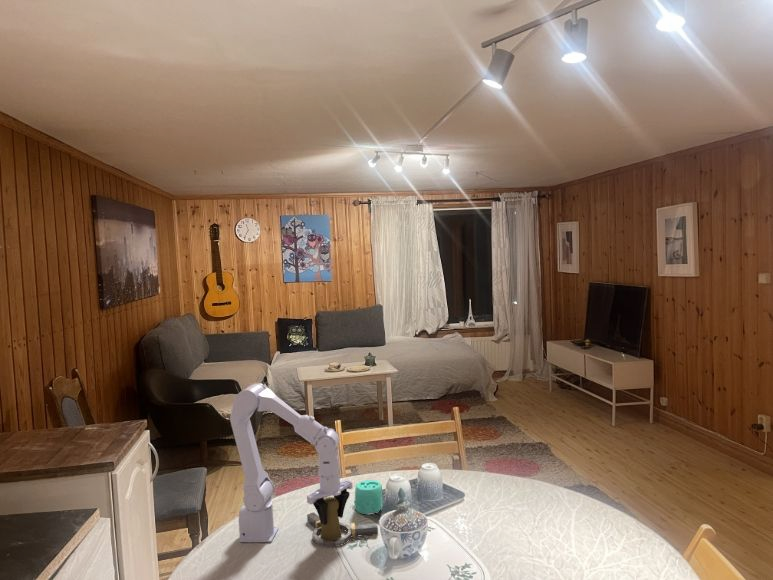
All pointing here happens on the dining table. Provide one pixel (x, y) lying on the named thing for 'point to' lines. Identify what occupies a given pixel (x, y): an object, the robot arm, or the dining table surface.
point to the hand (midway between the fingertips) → (331, 519)
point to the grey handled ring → (352, 530)
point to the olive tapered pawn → (331, 521)
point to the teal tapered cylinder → (368, 496)
